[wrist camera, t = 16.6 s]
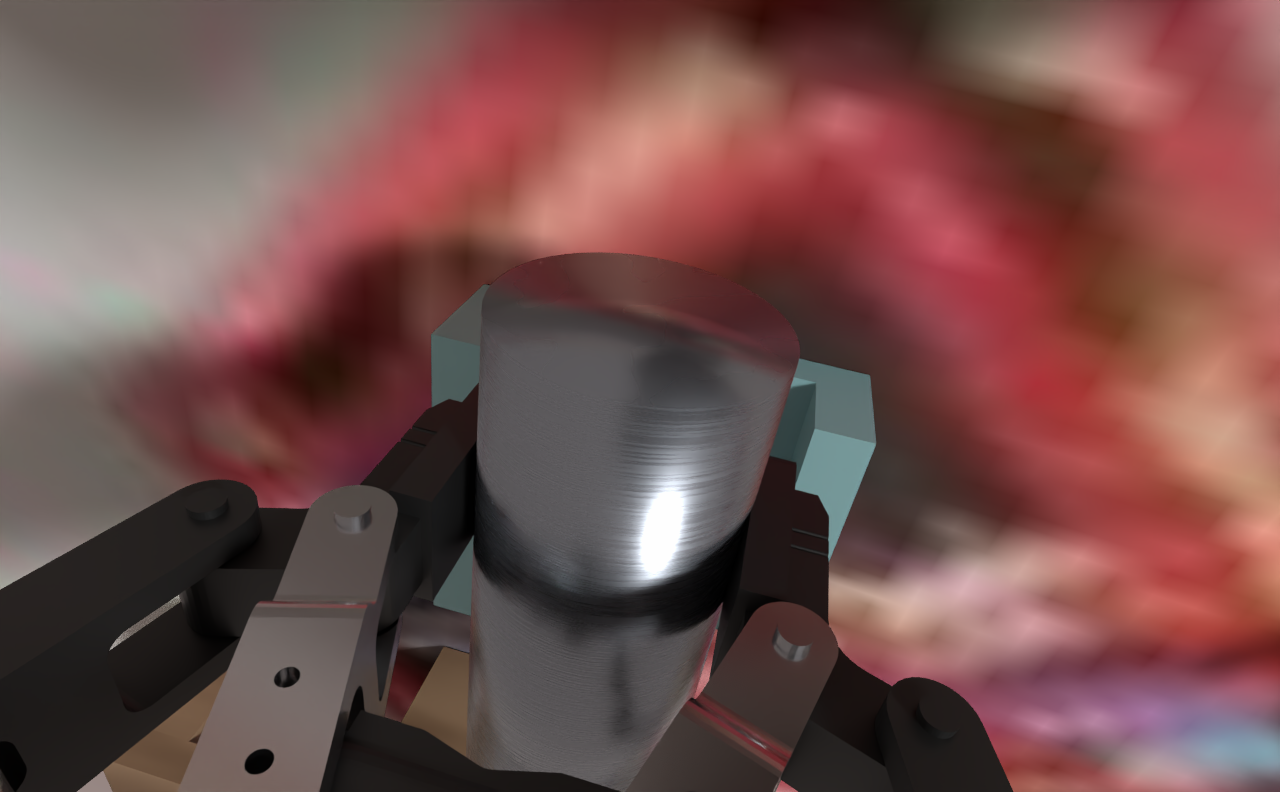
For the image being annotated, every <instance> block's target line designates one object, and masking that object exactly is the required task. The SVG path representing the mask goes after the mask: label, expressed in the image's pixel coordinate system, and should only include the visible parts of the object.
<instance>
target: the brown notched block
mask: <svg viewBox="0 0 1280 792" xmlns="http://www.w3.org/2000/svg"><path fill="white" fill-rule="evenodd" d="M226 673H227V671H226V672H225V673H224V674H222V675H221V676H220V677H219V678H217V679H216V680H215V681H214V682H212V683H211V684H210V685H209V686H208V687H206V688H205V689H204V690H203V691H201V692H200V693H199V694H198V695H196V696H195V697H194V698H193V699H191V700H190V701H189V702H188V703H186V704H185V705H184V706H183V707H181V708H180V709H179V710H178V711H176V712H175V713H174V714H173V715H171V716H170V717H169V718H168V719H166V720H165V721H164V722H163V723H161V724H160V725H159V726H158V727H156V728H155V729H154V730H153V731H152V732H150V733H149V734H148V735H147V736H145V737H144V738H143V739H142V740H140V741H139V742H138V743H137V744H135V745H134V746H133V747H132V748H130V749H129V750H128V751H127V752H125V753H124V754H123V755H122V756H120V757H119V758H118V759H117V760H115V761H114V762H113V763H112V764H110V765H109V766H108V767H107V768H105V769H104V770H103V771H104V773H105V775H106V778H107V780H108V782H109V784H110V787H111V789H112V791H113V792H178V789H179V787H180V784H181V782H182V780H183V777H184V775H185V772H186V770H187V767H188V765H189V763H190V760H191V758H192V755H193V753H194V750H195V748H196V746H197V743H198V741H199V738H200V736H201V734H202V731H203V729H204V726H205V724H206V721H207V719H208V717H209V714H210V712H211V709H212V707H213V704H214V702H215V700H216V697H217V695H218V692H219V690H220V687H221V685H222V683H223V680H224V678H225V675H226ZM468 682H469V654H467V653H464V652H461V651H457V650H454V649H451V648H447V647H443V649H442V651H441V652H440V654H439V656H438V658H437V660H436V661H435V663H434V665H433V667H432V668H431V670H430V672H429V674H428V676H427V677H426V679H425V681H424V683H423V684H422V686H421V688H420V690H419V692H418V693H417V695H416V697H415V699H414V700H413V702H412V704H411V706H410V708H409V709H408V711H407V713H406V715H405V716H404V718H403V720H402V722H401V723H404V724H407V725H411V726H414V727H417V728H420V729H423V730H426V731H427V732H429V733H430V734H432V735H433V736H435V737H436V738H438V739H439V740H441V741H442V742H444V743H445V744H447V745H449V746H450V747H452V748H453V749H455V750H456V751H458V752H459V753H461V754H462V755H464V756H465V757H466V739H467V710H468Z"/></svg>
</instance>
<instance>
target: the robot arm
mask: <svg viewBox="0 0 1280 792" xmlns="http://www.w3.org/2000/svg"><path fill="white" fill-rule="evenodd" d="M478 395H479V383H478V384H477V385H476V386H475V387H474V388H473V389H472V391H471V392H470V393H469V394H468V396H467V397H466V398H465V399H464V400H463V402H459V401H456V400H452V399H447V400H445V401H443V402H441V403H439V404H437V405H435V406H433V407H431V408H429V409H428V410H426V411H425V412H424V413H423V415H422V416H421V417H420V418H419V419H418V420H417V421H416V422H415V424H414V425H413V427H412V429H409V430H408V431H407V433H406V434H405V435H404V436H403V437H402V438H401V442H398V443H397V444H396V445H395V446H394V447H393V448H392V449H391V451H390V452H389V453H388V454H387V455H386V456H385V457H384V458H383V460H382V461H381V462H380V463H379V464H378V465H377V466H376V467H375V469H374V470H373V471H372V472H371V473H370V474H369V475H368V476H367V478H366V479H365V480H364V481H363V482H362V483H361V484H360V485H352V486H345V487H341V488H337V489H335V490H332V491H330V492H328V493H325V494H324V495H322V496H321V497H319V498H318V499H317V500H316V501H315V502H314V503H313V504H312V505H311V506H310V508H307V509H288V508H259V507H258V501H257V496H256V494H255V492H254V491H253V490H252V489H251V488H250V487H248V486H247V485H245V484H243V483H240V482H237V481H232V480H209V481H203V482H199V483H195V484H192V485H189V486H187V487H185V488H182V489H180V490H178V491H177V492H175V493H173V494H171V495H169V496H168V497H166V498H164V499H162V500H160V501H159V502H157V503H155V504H153V505H151V506H150V507H148V508H146V509H144V510H142V511H141V512H139V513H137V514H135V515H134V516H132V517H130V518H128V519H126V520H125V521H123V522H121V523H119V524H117V525H116V526H114V527H112V528H110V529H108V530H107V531H105V532H103V533H101V534H99V535H98V536H96V537H94V538H92V539H90V540H89V541H87V542H85V543H83V544H81V545H80V546H78V547H76V548H74V549H72V550H71V551H69V552H67V553H65V554H63V555H62V556H60V557H58V558H56V559H55V560H53V561H51V562H49V563H47V564H46V565H44V566H42V567H40V568H38V569H37V570H35V571H33V572H31V573H29V574H28V575H26V576H24V577H22V578H20V579H19V580H17V581H15V582H13V583H11V584H10V585H8V586H6V587H4V588H2V589H1V590H0V792H77V791H78V790H79V789H80V788H82V787H83V786H84V785H86V784H87V783H88V782H89V781H91V780H92V779H93V778H94V777H95V776H97V775H98V774H99V773H100V772H102V771H103V770H104V769H105V768H107V767H108V766H109V765H110V764H112V763H113V762H114V761H115V760H117V759H118V758H119V757H120V756H122V755H123V754H124V753H125V752H127V751H128V750H129V749H130V748H132V747H133V746H134V745H135V744H137V743H138V742H139V741H140V740H142V739H143V738H144V737H145V736H147V735H148V734H149V733H150V732H152V731H153V730H154V729H155V728H156V727H158V726H159V725H160V724H161V723H163V722H164V721H165V720H166V719H168V718H169V717H170V716H171V715H173V714H174V713H175V712H176V711H178V710H179V709H180V708H181V707H183V706H184V705H185V704H186V703H188V702H189V701H190V700H191V699H193V698H194V697H195V696H196V695H198V694H199V693H200V692H201V691H203V690H204V689H205V688H206V687H208V686H209V685H210V684H211V683H212V682H214V681H215V680H216V679H217V678H219V677H220V676H221V675H222V674H224V673H225V672H226V671H227V673H226V675H225V678H224V680H223V683H222V685H221V687H220V690H219V692H218V695H217V697H216V700H215V702H214V704H213V707H212V709H211V712H210V714H209V717H208V719H207V721H206V724H205V726H204V729H203V731H202V734H201V736H200V738H199V741H198V743H197V746H196V748H195V750H194V753H193V755H192V758H191V760H190V763H189V765H188V767H187V770H186V772H185V775H184V777H183V780H182V782H181V784H180V787H179V789H178V792H621V791H618V790H615V789H611V788H608V787H605V786H602V785H599V784H595V783H592V782H589V781H586V780H583V779H579V778H576V777H573V776H570V775H567V774H564V773H554V772H532V771H511V770H492V769H486V768H483V767H481V766H479V765H477V764H476V763H474V762H473V761H471V760H470V759H468V758H467V757H465V756H464V755H462V754H461V753H459V752H458V751H456V750H455V749H453V748H452V747H450V746H449V745H447V744H445V743H444V742H442V741H441V740H439V739H438V738H436V737H435V736H433V735H432V734H430V733H429V732H427V731H426V730H423V729H420V728H417V727H414V726H411V725H407V724H404V723H401V722H398V721H395V720H391V719H388V718H385V717H384V715H385V709H386V704H387V699H388V694H389V689H390V684H391V679H392V674H393V669H394V664H395V658H396V653H397V648H398V643H399V638H400V633H401V628H402V612H403V610H404V609H405V607H406V606H407V604H408V603H409V601H410V600H411V598H412V597H413V596H415V597H418V598H422V599H425V600H428V601H432V602H433V600H434V599H435V597H436V595H437V594H438V592H439V591H440V589H441V587H442V586H443V584H444V582H445V581H446V579H447V578H448V576H449V574H450V573H451V571H452V569H453V568H454V566H455V565H456V563H457V561H458V560H459V558H460V556H461V555H462V553H463V552H464V550H465V548H466V547H467V545H468V544H469V542H470V540H471V539H472V537H473V535H474V509H475V481H476V452H477V423H478ZM796 469H797V463H796V462H793V461H789V460H785V459H781V458H777V457H773V456H769V458H768V462H767V465H766V468H765V471H764V474H763V478H762V481H761V484H760V487H759V491H758V494H757V497H756V500H755V502H754V505H753V507H752V509H751V512H750V515H749V519H748V522H747V525H746V528H745V531H744V535H743V538H742V541H741V544H740V548H739V551H738V554H737V557H736V560H735V564H734V567H733V570H732V573H731V577H730V580H729V583H728V586H727V590H726V593H725V596H724V599H723V603H722V609H721V615H720V620H719V626H718V632H717V638H716V644H715V650H714V655H713V661H712V667H711V673H710V679H709V681H708V683H707V684H706V686H705V687H704V689H703V691H702V692H701V693H700V695H699V696H698V697H697V699H694V698H690V699H689V700H688V701H687V702H686V703H685V704H684V705H683V707H682V708H681V710H680V711H679V712H678V714H677V715H676V717H675V718H674V720H673V721H672V723H671V724H670V726H669V727H668V729H667V730H666V732H665V733H664V735H663V736H662V738H661V739H660V741H659V742H658V744H657V745H656V747H655V748H654V750H653V751H652V753H651V754H650V756H649V757H648V759H647V760H646V762H645V763H644V765H643V766H642V768H641V769H640V771H639V772H638V774H637V775H636V776H635V778H634V779H633V781H632V782H631V784H630V785H629V787H628V788H627V790H626V791H625V792H776V789H777V787H778V785H779V783H780V781H781V780H782V781H784V782H785V783H787V784H788V785H790V786H791V787H793V788H794V789H796V790H797V791H799V792H1013V790H1012V788H1011V786H1010V783H1009V781H1008V779H1007V777H1006V775H1005V772H1004V770H1003V768H1002V766H1001V764H1000V761H999V759H998V757H997V755H996V753H995V750H994V748H993V746H992V744H991V741H990V739H989V737H988V735H987V733H986V730H985V728H984V726H983V724H982V722H981V720H980V718H979V716H978V715H977V713H976V712H975V711H974V709H973V708H972V707H971V706H970V705H969V703H968V702H967V701H966V700H965V699H964V698H962V697H961V696H960V695H959V694H958V693H956V692H955V691H953V690H952V689H950V688H949V687H947V686H945V685H943V684H941V683H939V682H936V681H934V680H930V679H927V678H920V677H911V678H906V679H903V680H900V681H898V682H897V683H896V684H894V685H893V686H891V685H889V684H887V683H885V682H884V681H882V680H880V679H878V678H877V677H875V676H873V675H872V674H870V673H868V672H866V671H865V670H863V669H862V668H860V667H859V666H857V665H856V664H855V663H853V662H852V661H851V660H850V659H849V658H848V657H847V656H846V655H845V654H844V653H843V652H842V651H841V649H840V648H839V647H838V643H837V639H836V637H835V635H834V633H833V631H832V629H831V628H830V627H829V623H828V583H829V558H828V555H829V541H828V538H829V515H828V513H827V511H826V510H825V508H824V506H823V504H822V502H821V500H820V498H819V496H818V495H814V494H811V493H807V492H803V491H799V490H795V483H796ZM177 595H179V596H180V599H181V602H180V603H178V604H177V605H175V606H174V607H173V608H171V609H170V610H168V611H167V612H165V613H164V614H162V615H161V616H159V617H158V618H156V619H155V620H154V621H152V622H151V623H149V624H148V625H146V626H145V627H143V628H142V629H140V630H139V631H137V632H136V633H135V634H133V635H132V636H130V637H129V638H127V639H126V640H124V641H123V642H121V643H120V644H118V645H117V646H116V647H114V648H113V649H111V650H110V648H111V646H112V644H113V643H114V642H115V640H116V639H117V638H118V637H119V636H120V635H121V634H122V633H123V632H124V631H126V630H127V629H128V628H130V627H131V626H133V625H134V624H136V623H137V622H139V621H140V620H142V619H143V618H145V617H146V616H148V615H149V614H151V613H152V612H154V611H155V610H157V609H158V608H159V607H161V606H162V605H164V604H165V603H167V602H168V601H170V600H171V599H173V598H174V597H176V596H177ZM109 650H110V651H109Z"/></svg>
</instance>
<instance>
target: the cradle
mask: <svg viewBox="0 0 1280 792" xmlns="http://www.w3.org/2000/svg"><path fill="white" fill-rule="evenodd" d="M489 287H490V285H486V284H484V285H483V286H482V287H481V288H480V289H478V290H477V291H476V292H475V293H474V294H473V295H472V296H471V297H470V298H469V299H468V300H467V301H466V302H465V303H464V304H463V305H461V306H460V307H459V308H458V309H457V310H456V311H455V312H454V313H453V314H452V315H451V316H450V317H449V318H448V319H447V320H446V321H444V322H443V323H442V324H441V325H440V326H439V327H438V328H437V329H436V330H435V331H434V332H433V333H432V334H431V375H432V407H433V406H435V405H437V404H439V403H441V402H443V401H445V400H447V399H452V400H456V401H459V402H463V400H464V399H465V398H466V397H467V396H468V394H469V393H470V392H471V391H472V389H473V388H474V387H475V386H476V385H477V384H478V383H479V366H480V337H481V310H482V300H483V298H484V295H485V293H486V291H487V289H488V288H489ZM875 446H876V437H875V426H874V415H873V404H872V393H871V382H870V375H866V374H862V373H858V372H854V371H849V370H845V369H841V368H837V367H832V366H828V365H824V364H820V363H816V362H811V361H807V360H803V359H799V362H798V365H797V369H796V372H795V375H794V378H793V381H792V385H791V388H790V391H789V394H788V397H787V401H786V404H785V407H784V410H783V413H782V417H781V420H780V423H779V426H778V430H777V433H776V436H775V439H774V442H773V446H772V449H771V452H770V455H769V456H773V457H777V458H781V459H785V460H789V461H793V462H796V463H797V469H796V483H795V490H799V491H803V492H807V493H811V494H814V495H818V496H819V498H820V500H821V502H822V504H823V506H824V508H825V510H826V511H827V513H828V515H829V538H828V541H829V555H828V558H829V560H830V558H831V555H832V553H833V550H834V548H835V545H836V543H837V540H838V538H839V535H840V533H841V530H842V528H843V525H844V523H845V520H846V518H847V515H848V513H849V510H850V508H851V505H852V503H853V500H854V498H855V495H856V493H857V490H858V488H859V485H860V483H861V480H862V478H863V475H864V473H865V470H866V468H867V465H868V463H869V460H870V458H871V456H872V453H873V451H874V448H875ZM473 538H474V535H473V537H472V539H471V540H470V542H469V544H468V545H467V547H466V548H465V550H464V552H463V553H462V555H461V556H460V558H459V560H458V561H457V563H456V565H455V566H454V568H453V569H452V571H451V573H450V574H449V576H448V578H447V579H446V581H445V582H444V584H443V586H442V587H441V589H440V591H439V592H438V594H437V595H436V597H435V599H434V605H435V606H438V607H442V608H445V609H449V610H452V611H456V612H459V613H463V614H466V615H470V616H471V596H472V567H473ZM720 615H721V613H720ZM719 620H720V616H719V619H718V622H717V625H716V629H718V626H719Z"/></svg>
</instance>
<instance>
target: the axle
mask: <svg viewBox="0 0 1280 792" xmlns="http://www.w3.org/2000/svg"><path fill="white" fill-rule="evenodd" d="M799 356H800V347H799V341H798V339H797V336H796V333H795V331H794V330H793V328H792V327H791V325H790V324H789V322H788V321H787V320H786V319H785V318H784V316H783V315H782V314H781V313H780V312H779V311H777V310H776V309H775V308H774V307H773V306H772V305H771V304H769V303H768V302H767V301H765V300H764V299H762V298H761V297H760V296H758V295H756V294H755V293H753V292H751V291H750V290H748V289H746V288H744V287H742V286H740V285H738V284H736V283H734V282H732V281H730V280H728V279H725V278H723V277H721V276H718V275H716V274H713V273H710V272H707V271H705V270H702V269H699V268H695V267H692V266H689V265H685V264H681V263H677V262H673V261H669V260H664V259H659V258H653V257H647V256H640V255H632V254H621V253H600V252H599V253H574V254H564V255H557V256H550V257H546V258H542V259H537V260H534V261H531V262H528V263H524V264H522V265H520V266H517V267H515V268H513V269H511V270H509V271H507V272H506V273H504V274H503V275H501V276H500V277H499V278H497V279H496V280H495V281H494V282H493V283H492V284H491V285H490V287H489V288H488V289H487V291H486V293H485V295H484V298H483V300H482V310H481V337H480V366H479V395H478V423H477V452H476V481H475V509H474V538H473V567H472V596H471V624H470V653H469V682H468V710H467V739H466V757H467V758H468V759H470V760H471V761H473V762H474V763H476V764H477V765H479V766H481V767H483V768H486V769H492V770H511V771H532V772H554V773H564V774H567V775H570V776H573V777H576V778H579V779H583V780H586V781H589V782H592V783H595V784H599V785H602V786H605V787H608V788H611V789H615V790H618V791H621V792H625V791H626V790H627V788H628V787H629V785H630V784H631V782H632V781H633V779H634V778H635V776H636V775H637V774H638V772H639V771H640V769H641V768H642V766H643V765H644V763H645V762H646V760H647V759H648V757H649V756H650V754H651V753H652V751H653V750H654V748H655V747H656V745H657V744H658V742H659V741H660V739H661V738H662V736H663V735H664V733H665V732H666V730H667V729H668V727H669V726H670V724H671V723H672V721H673V720H674V718H675V717H676V715H677V714H678V712H679V711H680V710H681V708H682V707H683V705H684V704H685V703H686V702H687V701H688V700H689V699H690V698H694V696H695V693H696V690H697V686H698V683H699V680H700V677H701V674H702V670H703V667H704V664H705V661H706V657H707V654H708V651H709V648H710V645H711V641H712V638H713V635H714V632H715V629H716V625H717V622H718V619H719V616H720V613H721V609H722V603H723V599H724V596H725V593H726V590H727V586H728V583H729V580H730V577H731V573H732V570H733V567H734V564H735V560H736V557H737V554H738V551H739V548H740V544H741V541H742V538H743V535H744V531H745V528H746V525H747V522H748V519H749V515H750V512H751V509H752V507H753V505H754V502H755V500H756V497H757V494H758V491H759V487H760V484H761V481H762V478H763V474H764V471H765V468H766V465H767V462H768V458H769V455H770V452H771V449H772V446H773V442H774V439H775V436H776V433H777V430H778V426H779V423H780V420H781V417H782V413H783V410H784V407H785V404H786V401H787V397H788V394H789V391H790V388H791V385H792V381H793V378H794V375H795V372H796V369H797V365H798V362H799Z"/></svg>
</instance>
